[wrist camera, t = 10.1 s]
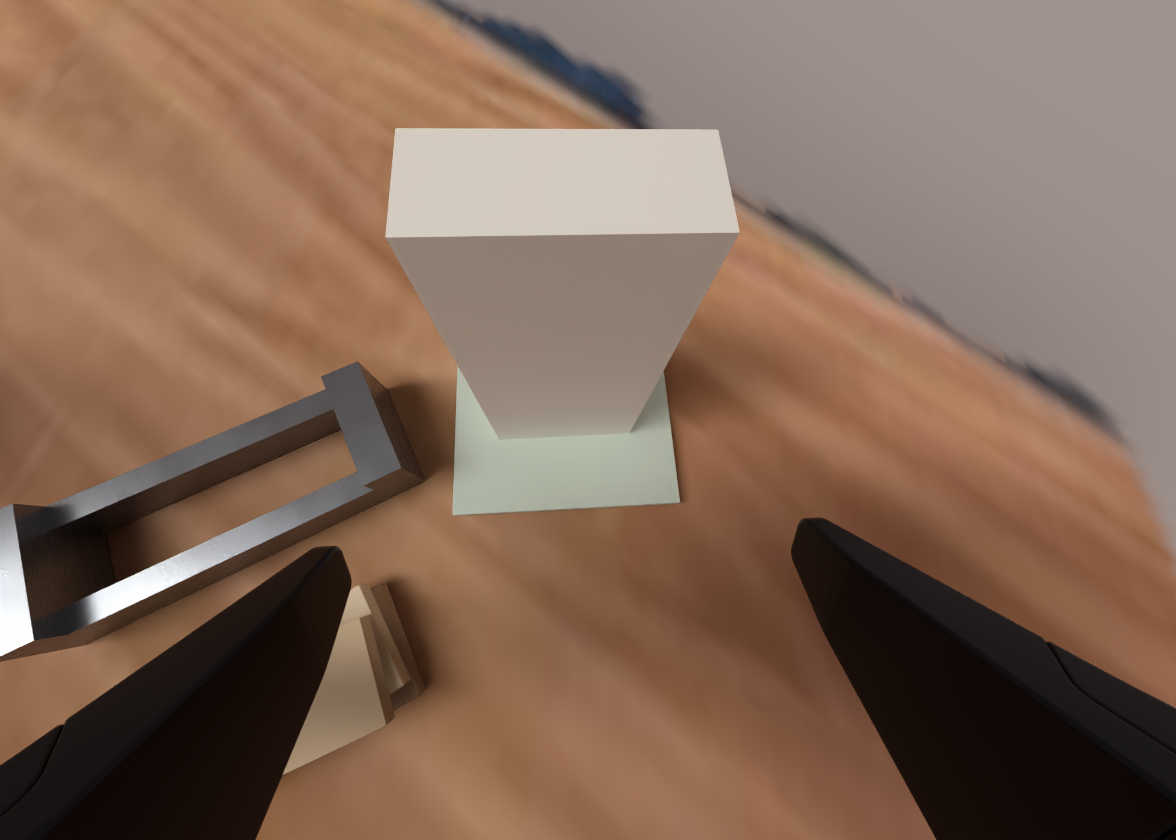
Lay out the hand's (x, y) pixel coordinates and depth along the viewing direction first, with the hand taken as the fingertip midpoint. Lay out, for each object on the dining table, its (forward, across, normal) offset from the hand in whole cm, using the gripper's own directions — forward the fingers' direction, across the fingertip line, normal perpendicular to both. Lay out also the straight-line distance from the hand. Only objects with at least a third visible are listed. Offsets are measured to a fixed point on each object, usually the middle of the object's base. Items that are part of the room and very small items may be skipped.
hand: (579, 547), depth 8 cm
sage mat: (+12, 0, +3) cm, 12 cm away
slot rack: (+10, +14, +6) cm, 18 cm away
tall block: (+12, 0, +3) cm, 12 cm away
